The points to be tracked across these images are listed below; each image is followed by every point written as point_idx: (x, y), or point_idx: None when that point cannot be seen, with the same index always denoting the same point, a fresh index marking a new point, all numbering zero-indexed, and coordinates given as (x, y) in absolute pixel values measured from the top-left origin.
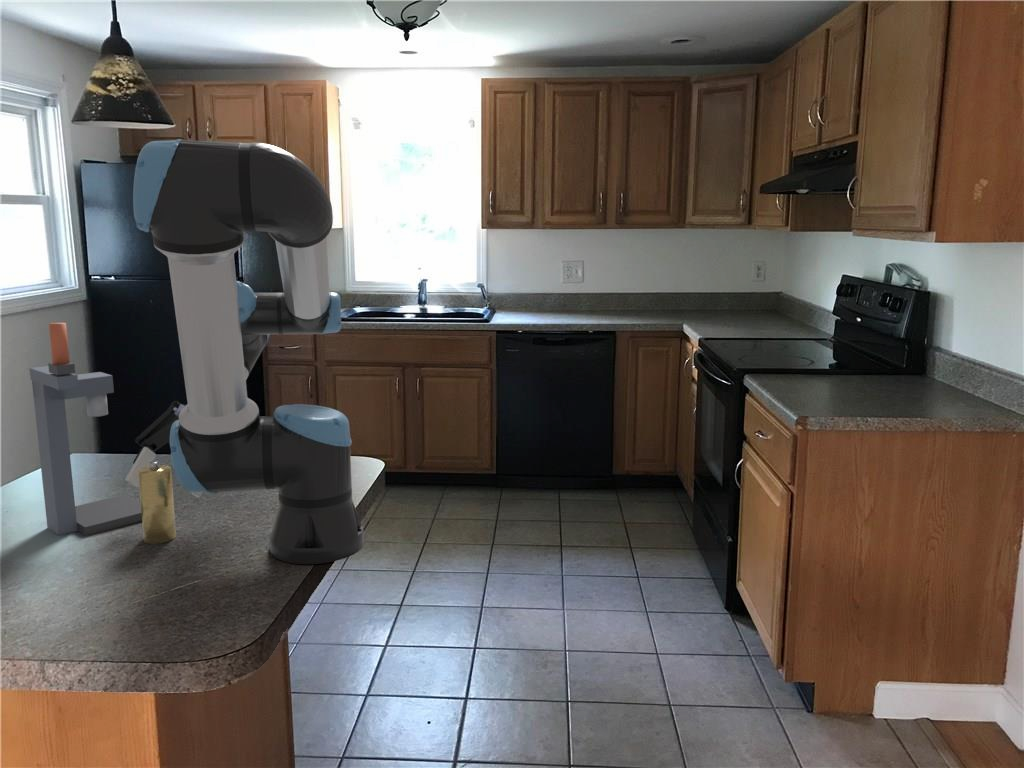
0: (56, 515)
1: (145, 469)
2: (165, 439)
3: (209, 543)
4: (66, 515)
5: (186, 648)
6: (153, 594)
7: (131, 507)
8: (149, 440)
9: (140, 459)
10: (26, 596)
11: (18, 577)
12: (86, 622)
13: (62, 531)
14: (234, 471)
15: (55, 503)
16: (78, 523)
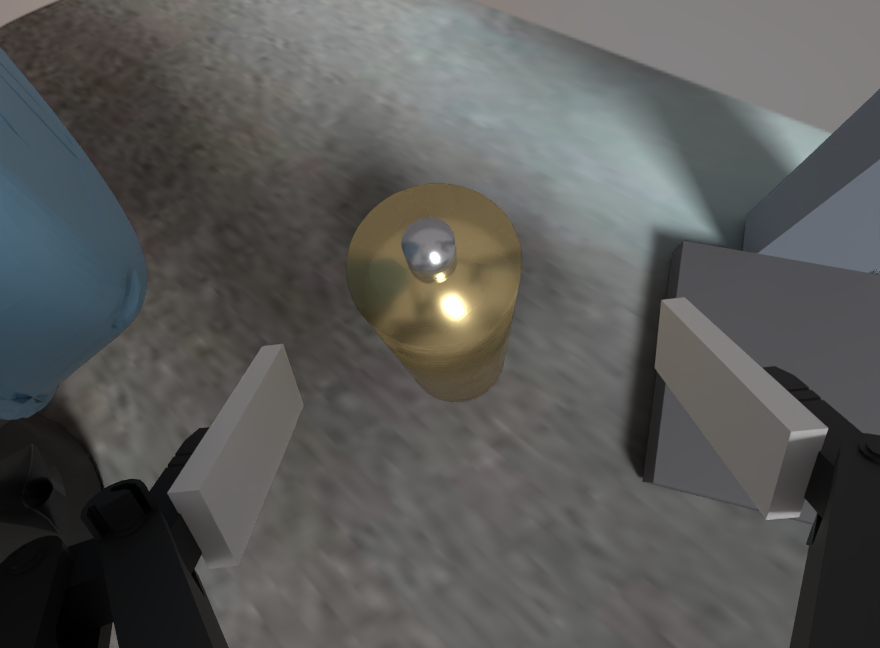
0: (787, 178)
1: (476, 234)
2: (803, 611)
3: None
4: (777, 210)
5: None
6: (202, 140)
7: None
8: (868, 485)
9: (726, 368)
10: (434, 14)
11: (545, 44)
12: (232, 21)
13: (749, 221)
14: None
15: (816, 150)
16: (739, 250)
